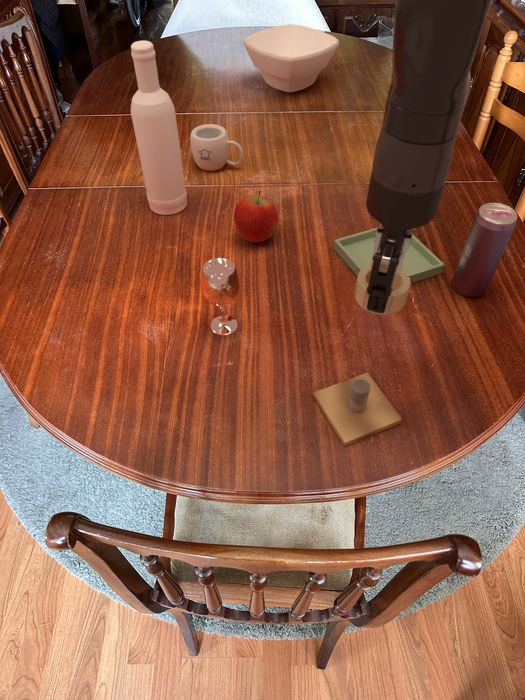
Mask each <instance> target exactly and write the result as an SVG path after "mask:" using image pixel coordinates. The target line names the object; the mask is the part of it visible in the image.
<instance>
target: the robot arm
mask: <svg viewBox="0 0 525 700" xmlns="http://www.w3.org/2000/svg"><path fill="white" fill-rule="evenodd" d="M496 1H497V0H396V1H395V2H396V3H395V9H394V19H393V33H392V38H393V39H392V59H391V60H392V61H391V62H392V74H391V79H390V83H389V87H388V91H387V98H386V103H385V107H384V114H383V117H382V118H383V119H382V125H381V128H380V132H379V135H378V138H377V140H376V145H375V149H374V156H373V161H372V166H371V167H372V168H371V173H370V178H369V185H368V191H367V197H366V201H365V202H366V203H365V204H366V205H365V206H366V210H367V212H368V213H369V215H370V216H371V217H372V218H373V219H374V220H375V221H377V222H378V223H379V224H378V226H377V227H376V228H377V230H376V234H375V238H374V243H375V248H374V252H373V256H372V260H371V264H370V266H371V268H372V270H371V275H370V281H369V286H368V287H367V290H366V291H367V294H369V298H368V303H367V309H368V310H369V311H373V312H377V313H384V312H385V308H386V304H387V300H388V298H389V296H390V295H391V292H392V291H393V290H392V289H393V286H392V284H393V280H394V276H395V275H396V274H398V273H400V271H401V267H402V264H403V260H404V256H405V252H406V250H408V249H409V246H410V243H411V239H412V235H414V231H415V229H418V228H420V227H424V226H426V225H428V224H429V223H430V222H432V221H433V220H434V218H435V217H436V215H437V213H438V208H439V206H440V203H441V198H442V196H443V193H444V188H445V184H446V182H447V179H448V175H449V171H450V168H451V165H452V162H453V158H454V153H455V147H456V141H457V135H458V133H459V129H460V125H461V121H462V117H463V115H464V111H465V108H466V105H467V102H468V101H467V100H468V98H469V97H468V96H469V93H470V88H471V87H470V86H471V81H472V75H471V68H472V66H473V62H474V59H475V56H476V53H477V49H478V46H479V42H480V39H481V37H482V33H483V30H484V28H485V24H486V21H487V18H488V15H489V13H490V9H491V6H492V4H493V3H494V2H496ZM379 249H380V253H379ZM400 251H401V252H400ZM369 311H368V312H369Z"/></svg>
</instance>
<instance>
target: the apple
mask: <svg viewBox="0 0 525 700" xmlns="http://www.w3.org/2000/svg"><path fill="white" fill-rule="evenodd" d="M261 192H262V190H259V191H258V195H257V194H255V195H254V194H251V195H247V196H245V197H243V198H242V199H241V200H239V202H238V203H237V204H236V206H235V208H234V211H233V220H234V225H235V227H236V229H237V231H238V233H239V235H240V236H241V237H242V238H243V239H244V240H245V241H247V242H249V243H254V244H255V243H261V242H265V241H267V240H269V239H270V238H272V236H273V235H274V234H275V232H276V231H277V229H278V226H279V214H278V210H277V207H276V206H275V204H274V203H273V202H272V201H271V200H270V199H268V198H267V197H266V196H263V195H261Z"/></svg>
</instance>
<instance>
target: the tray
mask: <svg viewBox="0 0 525 700" xmlns="http://www.w3.org/2000/svg"><path fill="white" fill-rule="evenodd" d="M376 230H377V227H374V228H371V229H367V230H364V231H360V232H358V233H353V234H350V235H347V236H343V237H340V238H337V239H334V241H333V250H334V251H335V253H336V254H337V255H338V256H339V257H340V258H341V259H342V261H343V262H344V263H345V264H346V265H347V266H348V268H349V269H350V270H351V271H352V272H353V273H354V275H355V276H356V278H357V277H358V273H359V272H360V271H361V270H362V269H363V267H365V266H367V265H370V264H371V260H372V256H373V252H374V248H375V243H374V238H375V234H376ZM400 252H401V251H400ZM379 253H380V249H379ZM444 268H445V262H442V260H440V258H438V257H437V256H436V255H435V254H434V253H433V252H432V251H431V250H430V249H429V247H426V245H425V244H424V243H422V241H420V240H419V238H417V236H415V234H413V235H412V239H411V243H410V246H409V249H408V250H406V252H405V256H404V260H403V264H402V267H401V269H402V270H403V271H404V272H405V273H406V274H407V275H408V276H409V277H410V283H411V284H413V283H416V282H420V281H423V280H426V279H428V278H431V277H434V276H438V275H441V274H443V271H444Z"/></svg>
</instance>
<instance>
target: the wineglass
mask: <svg viewBox="0 0 525 700" xmlns="http://www.w3.org/2000/svg"><path fill="white" fill-rule="evenodd" d="M201 270H202V271H201V274H200V288H201V293H202V295H203V298H204V299H205V300H206V301H207V302H208V303H209V304H210V305H213V306H218V307H219V309H220V311H221V312H220V313H221V315H219V316H216V317H214V318H213V319H212V320H211V322H210V326H209V327H210V330H211V331H212V332H213V333H214V334H215V335H218V336H228V335H231V334H234V333H235V332H236V331H237V329H238V327H239V323H238V321H237V319H236V318H235V317H233V316H231V315H227V314H226V315H225V310H226V306H228V305H230V304H232V303H233V302H234V301H235V300H236V299H237V298H238V296H239V294H240V287H241V285H240V284H241V282H240V278H239V274H238V271H237V268H236V265H235V263H234V262H233V261H232V260H230V259H228V258H224V257H215V258H211V259H208V260H207V261H206V262H204V264H203V266H202V269H201Z"/></svg>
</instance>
